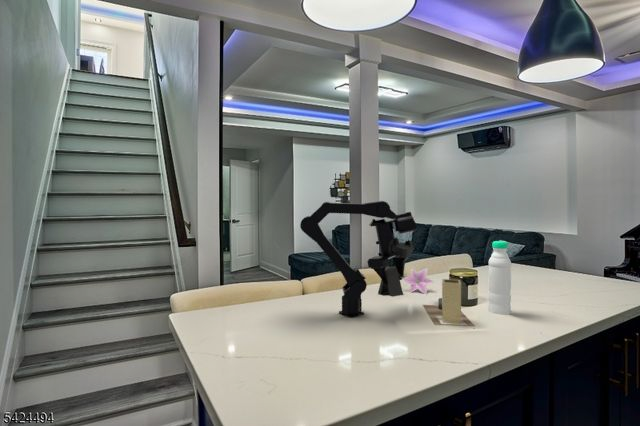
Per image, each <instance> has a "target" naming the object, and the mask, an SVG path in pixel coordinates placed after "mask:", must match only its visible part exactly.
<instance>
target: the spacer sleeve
mask: <svg viewBox="0 0 640 426" xmlns="http://www.w3.org/2000/svg"><path fill="white" fill-rule="evenodd" d="M441 280H442V282H441V284H442V285H441V298H442V322H447V323H458V324H461V311H462V282H461V280H460V279H450V278H449V279H448V278H447V279H446V278H442V279H441Z"/></svg>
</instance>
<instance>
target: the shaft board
mask: <svg viewBox="0 0 640 426" xmlns="http://www.w3.org/2000/svg"><path fill="white" fill-rule="evenodd" d="M437 301H438V302H437V303H438V304H422V308H424V310H425V311H426V313H427V315H428V317H429V318H430V319H431V321H432V323H433V325H434V326H451V327H453V326H458V327H476V325H475V324H474V323H473V322H472V321H471V320H470V319H469V318H468V317H467V316H466V314H465V313H463V312H462V310H461V324H458V323H447V322H442V297H439V298H438V300H437ZM474 329H476V328H473V330H474Z"/></svg>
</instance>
